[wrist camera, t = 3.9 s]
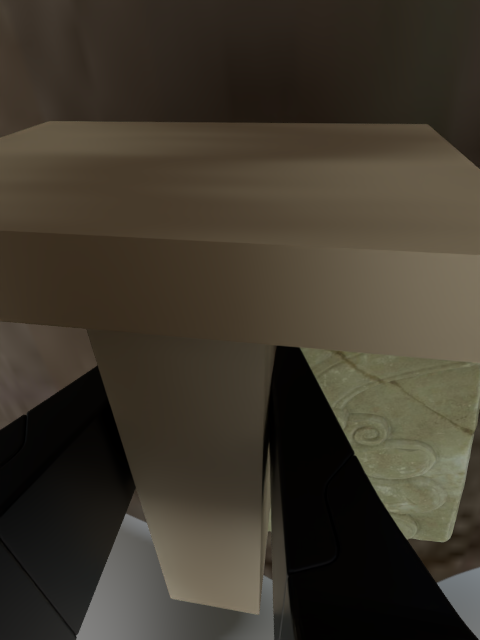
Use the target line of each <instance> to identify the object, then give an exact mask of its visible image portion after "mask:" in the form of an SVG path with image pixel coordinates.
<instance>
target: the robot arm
mask: <svg viewBox="0 0 480 640" xmlns="http://www.w3.org/2000/svg"><path fill="white" fill-rule="evenodd" d="M269 455H270V494H271V534H272V574H273V614H274V640H478V638H477V637H476V636H475V635H474V634H473V632H472V631H471V630H470V629H469V628H468V627H467V625H466V624H465V623H464V621H463V620H462V619H461V618H460V616H459V615H458V614H457V612H456V611H455V609H454V608H453V606H452V605H451V604H450V602H449V601H448V599H447V598H446V597H445V595H444V593H443V592H442V590H441V589H440V588H439V586H438V585H437V583H436V582H435V580H434V579H433V577H432V576H431V574H430V573H429V571H428V570H427V568H426V567H425V565H424V564H423V563H422V561H421V560H420V558H419V557H418V555H417V554H416V552H415V551H414V549H413V548H412V546H411V545H410V543H409V542H408V540H407V539H406V538H405V536H404V535H403V533H402V532H401V530H400V529H399V527H398V526H397V524H396V523H395V521H394V520H393V518H392V516H391V515H390V513H389V512H388V510H387V509H386V507H385V506H384V504H383V502H382V501H381V499H380V498H379V496H378V494H377V492H376V491H375V489H374V487H373V485H372V484H371V482H370V480H369V478H368V476H367V475H366V473H365V471H364V469H363V467H362V465H361V463H360V461H359V459H358V458H357V456H356V455H355V452H354V450H353V448H352V446H351V445H350V443H349V441H348V439H347V437H346V435H345V433H344V431H343V429H342V427H341V425H340V423H339V422H338V420H337V418H336V416H335V414H334V412H333V410H332V408H331V406H330V404H329V402H328V400H327V398H326V397H325V395H324V393H323V391H322V389H321V387H320V385H319V383H318V381H317V379H316V377H315V375H314V374H313V372H312V370H311V368H310V366H309V364H308V362H307V360H306V358H305V356H304V354H303V352H302V350H301V349H300V347H290V346H278V345H277V347H276V354H275V360H274V366H273V372H272V382H271V409H270V435H269ZM135 488H136V486H135V483H134V480H133V476H132V473H131V470H130V467H129V464H128V460H127V457H126V454H125V451H124V448H123V444H122V441H121V438H120V435H119V432H118V428H117V425H116V422H115V419H114V416H113V413H112V409H111V406H110V403H109V400H108V397H107V393H106V390H105V387H104V384H103V381H102V377H101V374H100V371H99V368H98V366H96V367H95V368H93V369H92V370H90V371H89V372H87V373H86V374H84V375H83V376H81V377H80V378H78V379H77V380H75V381H74V382H72V383H71V384H69V385H68V386H66V387H65V388H63V389H62V390H60V391H59V392H57V393H56V394H54V395H53V396H51V397H50V398H48V399H47V400H45V401H44V402H42V403H41V404H39V405H38V406H36V407H35V408H33V409H31V410H30V411H28V412H27V415H22V416H21V417H19V418H18V419H16V420H15V421H13V422H12V423H10V424H9V425H7V426H6V427H4V428H3V429H1V430H0V640H76V638H77V637H76V635H77V634H78V633H79V630H80V628H81V625H82V622H83V620H84V617H85V615H86V612H87V610H88V607H89V605H90V602H91V600H92V597H93V595H94V592H95V590H96V587H97V585H98V582H99V580H100V577H101V574H102V572H103V569H104V567H105V564H106V562H107V559H108V557H109V554H110V552H111V549H112V547H113V544H114V542H115V539H116V536H117V534H118V531H119V529H120V526H121V524H122V521H123V519H124V516H125V514H126V511H127V509H128V506H129V504H130V501H131V498H132V496H133V493H134V491H135Z"/></svg>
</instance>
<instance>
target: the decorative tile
mask: <svg viewBox="0 0 480 640" xmlns="http://www.w3.org/2000/svg"><path fill="white" fill-rule="evenodd" d="M300 349H301V350H302V352H303V354H304V356H305V358H306V360H307V362H308V364H309V366H310V368H311V370H312V372H313V374H314V375H315V377H316V379H317V381H318V383H319V385H320V387H321V389H322V391H323V393H324V395H325V397H326V398H327V400H328V402H329V404H330V406H331V408H332V410H333V412H334V414H335V416H336V418H337V420H338V422H339V423H340V425H341V427H342V429H343V431H344V433H345V435H346V437H347V439H348V441H349V443H350V445H351V446H352V448H353V450H354V452H355V455H356V456H357V458H358V459H359V461H360V463H361V465H362V467H363V469H364V471H365V473H366V475H367V476H368V478H369V480H370V482H371V484H372V485H373V487H374V489H375V491H376V492H377V494H378V496H379V498H380V499H381V501H382V502H383V504H384V506H385V507H386V509H387V510H388V512H389V513H390V515H391V516H392V518H393V520H394V521H395V523H396V524H397V526H398V527H399V529H400V530H401V532H402V533H403V535H404V536H405V538H406V539H407V540H408V539H410V538H414V539H419V540H429V541H437V542H445V541H447V540H448V539H450V537H451V535H452V532H453V528H454V524H455V521H456V516H457V512H458V507H459V503H460V499H461V495H462V492H463V489H464V484H465V479H466V474H467V467H468V463H469V458H470V453H471V447H472V442H473V437H474V431H475V429H476V427H477V422H478V414H479V409H480V363H473V362H461V361H450V360H438V359H427V358H416V357H404V356H393V355H381V354H370V353H358V352H347V351H335V350H324V349H312V348H301V347H300ZM268 531H271V504H270V514H269V524H268Z"/></svg>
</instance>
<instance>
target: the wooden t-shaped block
mask: <svg viewBox="0 0 480 640" xmlns="http://www.w3.org/2000/svg"><path fill="white" fill-rule="evenodd" d="M0 321H3V322H15V323H26V324H38V325H49V326H61V327H72V328H83V329H86V330H87V333H88V336H89V339H90V342H91V346H92V349H93V352H94V355H95V358H96V362H97V365H98V368H99V371H100V374H101V377H102V381H103V384H104V387H105V390H106V393H107V397H108V400H109V403H110V406H111V409H112V413H113V416H114V419H115V422H116V425H117V428H118V432H119V435H120V438H121V441H122V444H123V448H124V451H125V454H126V457H127V460H128V464H129V467H130V470H131V473H132V476H133V480H134V483H135V486H136V489H137V492H138V495H139V499H140V502H141V505H142V508H143V511H144V515H145V518H146V521H147V524H148V527H149V531H150V534H151V537H152V540H153V543H154V546H155V549H156V553H157V556H158V559H159V562H160V566H161V569H162V572H163V575H164V578H165V582H166V585H167V588H168V591H169V594H170V597H171V599H176V600H181V601H187V602H192V603H198V604H203V605H208V606H214V607H219V608H225V609H230V610H236V611H242V612H247V613H252V614H257V615H259V611H260V601H261V590H262V582H263V572H264V562H265V553H266V543H267V533H268V524H269V514H270V504H271V494H270V455H269V435H270V409H271V382H272V372H273V366H274V360H275V354H276V347H277V345H278V346H290V347H301V348H312V349H324V350H335V351H347V352H358V353H370V354H381V355H393V356H404V357H416V358H427V359H438V360H450V361H461V362H473V363H480V169H479V168H478V167H476V166H475V165H474V164H473V163H472V162H471V161H470V160H468V159H467V158H466V157H465V156H464V155H463V154H461V153H460V152H459V151H458V150H457V149H456V148H455V147H453V146H452V145H451V144H450V143H449V142H448V141H446V140H445V139H444V138H443V137H442V136H441V135H440V134H438V133H437V132H436V131H435V130H434V129H433V128H431V127H430V126H429V125H428V124H344V123H217V122H90V121H48V122H45V123H42V124H39V125H36V126H33V127H31V128H28V129H25V130H22V131H19V132H16V133H13V134H10V135H7V136H4V137H1V138H0Z"/></svg>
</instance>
